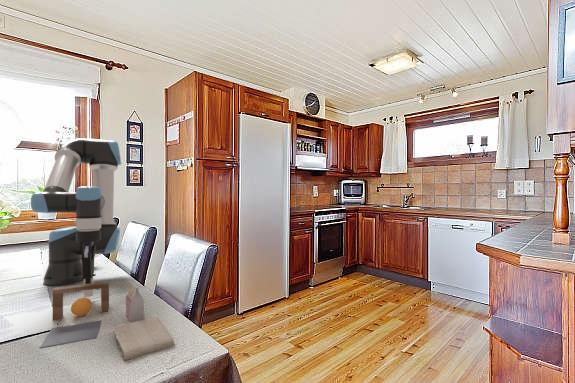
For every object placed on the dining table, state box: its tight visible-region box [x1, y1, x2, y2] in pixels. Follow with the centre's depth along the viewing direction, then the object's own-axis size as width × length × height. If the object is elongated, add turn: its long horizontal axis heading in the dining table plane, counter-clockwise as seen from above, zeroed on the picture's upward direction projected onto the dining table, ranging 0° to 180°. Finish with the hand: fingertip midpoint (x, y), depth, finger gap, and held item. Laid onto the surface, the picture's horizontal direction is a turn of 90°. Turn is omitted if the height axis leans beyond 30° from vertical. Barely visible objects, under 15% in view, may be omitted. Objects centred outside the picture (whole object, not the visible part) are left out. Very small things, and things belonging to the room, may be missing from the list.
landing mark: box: [39, 319, 102, 349], centre depth 82 cm, size 12×12×1 cm
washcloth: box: [113, 316, 175, 361], centre depth 79 cm, size 12×18×3 cm, turn 38°
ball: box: [70, 297, 93, 317], centre depth 94 cm, size 6×6×6 cm
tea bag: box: [125, 283, 145, 323], centre depth 93 cm, size 4×7×10 cm, turn 39°
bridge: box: [52, 281, 110, 322], centre depth 95 cm, size 3×14×9 cm, turn 116°
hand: (88, 295), depth 106 cm, fingers closed
